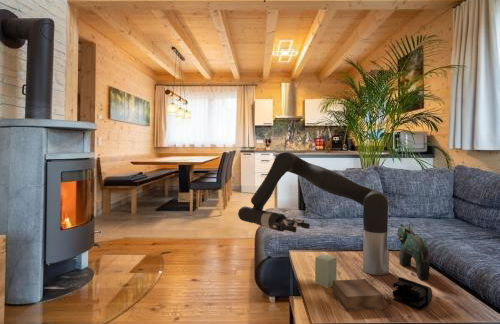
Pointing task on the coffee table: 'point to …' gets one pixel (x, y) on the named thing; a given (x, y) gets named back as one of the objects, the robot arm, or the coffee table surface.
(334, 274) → the tall sage green block
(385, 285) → the coffee table surface
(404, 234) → the green animal figurine
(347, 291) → the walnut box
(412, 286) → the end cap
